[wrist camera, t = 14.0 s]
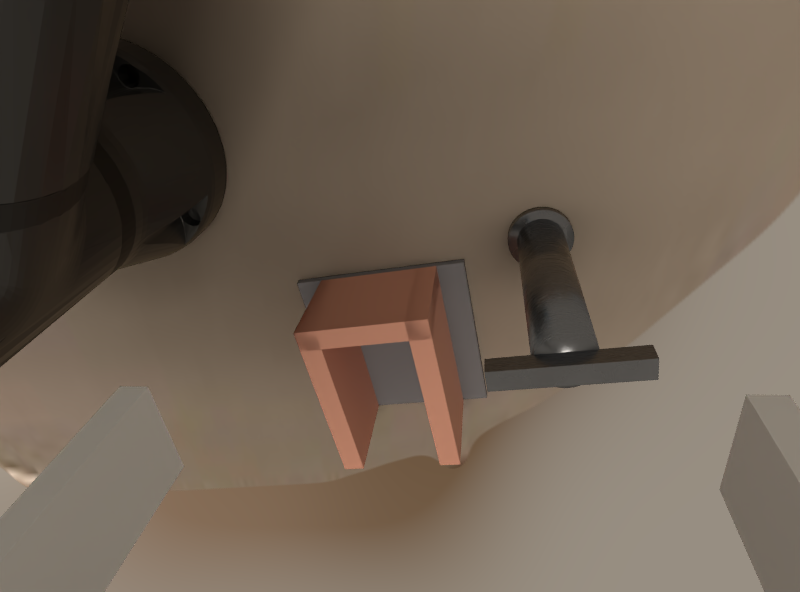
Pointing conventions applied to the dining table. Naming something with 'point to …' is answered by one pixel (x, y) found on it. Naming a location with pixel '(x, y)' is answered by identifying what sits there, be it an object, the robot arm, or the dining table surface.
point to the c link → (377, 324)
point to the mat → (395, 360)
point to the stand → (559, 317)
